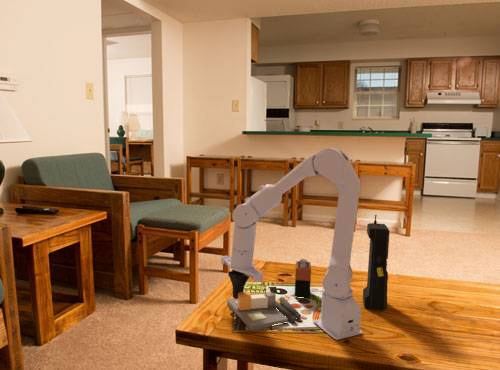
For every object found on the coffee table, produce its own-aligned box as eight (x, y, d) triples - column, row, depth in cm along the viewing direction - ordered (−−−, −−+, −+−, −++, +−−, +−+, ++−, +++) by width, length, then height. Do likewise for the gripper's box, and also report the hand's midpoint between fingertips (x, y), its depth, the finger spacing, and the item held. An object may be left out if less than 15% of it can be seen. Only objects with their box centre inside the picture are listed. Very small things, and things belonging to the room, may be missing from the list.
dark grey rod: (297, 323, 99) (297, 317, 98) (292, 324, 98) (292, 318, 98) (268, 298, 113) (268, 293, 112) (263, 299, 112) (263, 294, 112)
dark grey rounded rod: (301, 320, 100) (302, 314, 100) (296, 321, 100) (296, 315, 100) (283, 301, 111) (283, 296, 111) (278, 302, 111) (278, 296, 110)
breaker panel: (291, 322, 99) (291, 317, 99) (251, 330, 94) (251, 325, 94) (262, 298, 113) (262, 293, 113) (227, 304, 109) (227, 298, 108)
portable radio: (388, 312, 106) (394, 221, 102) (364, 310, 107) (370, 220, 104) (384, 300, 113) (390, 215, 110) (362, 298, 114) (368, 214, 111)
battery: (309, 290, 119) (310, 258, 118) (309, 299, 113) (311, 266, 111) (294, 289, 120) (296, 257, 119) (294, 298, 113) (295, 265, 112)
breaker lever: (276, 307, 104) (277, 294, 103) (239, 310, 102) (239, 297, 101) (273, 302, 107) (273, 289, 106) (237, 305, 104) (237, 292, 104)
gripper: (273, 255, 100) (267, 305, 102) (237, 238, 110) (232, 284, 112) (252, 259, 95) (247, 311, 97) (216, 241, 106) (212, 289, 108)
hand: (237, 297), depth 104 cm, fingers closed, pressing on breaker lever
